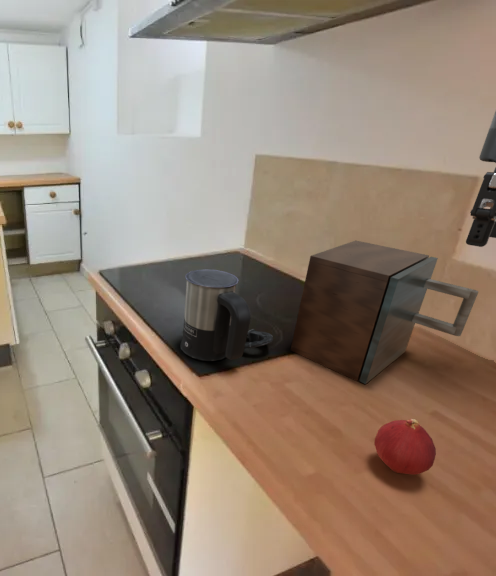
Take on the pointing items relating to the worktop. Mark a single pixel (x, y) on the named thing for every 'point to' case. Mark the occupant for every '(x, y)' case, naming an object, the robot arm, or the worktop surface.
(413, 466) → the onion
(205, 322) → the milk frother
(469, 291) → the door
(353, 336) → the cupboard
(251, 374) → the worktop surface
